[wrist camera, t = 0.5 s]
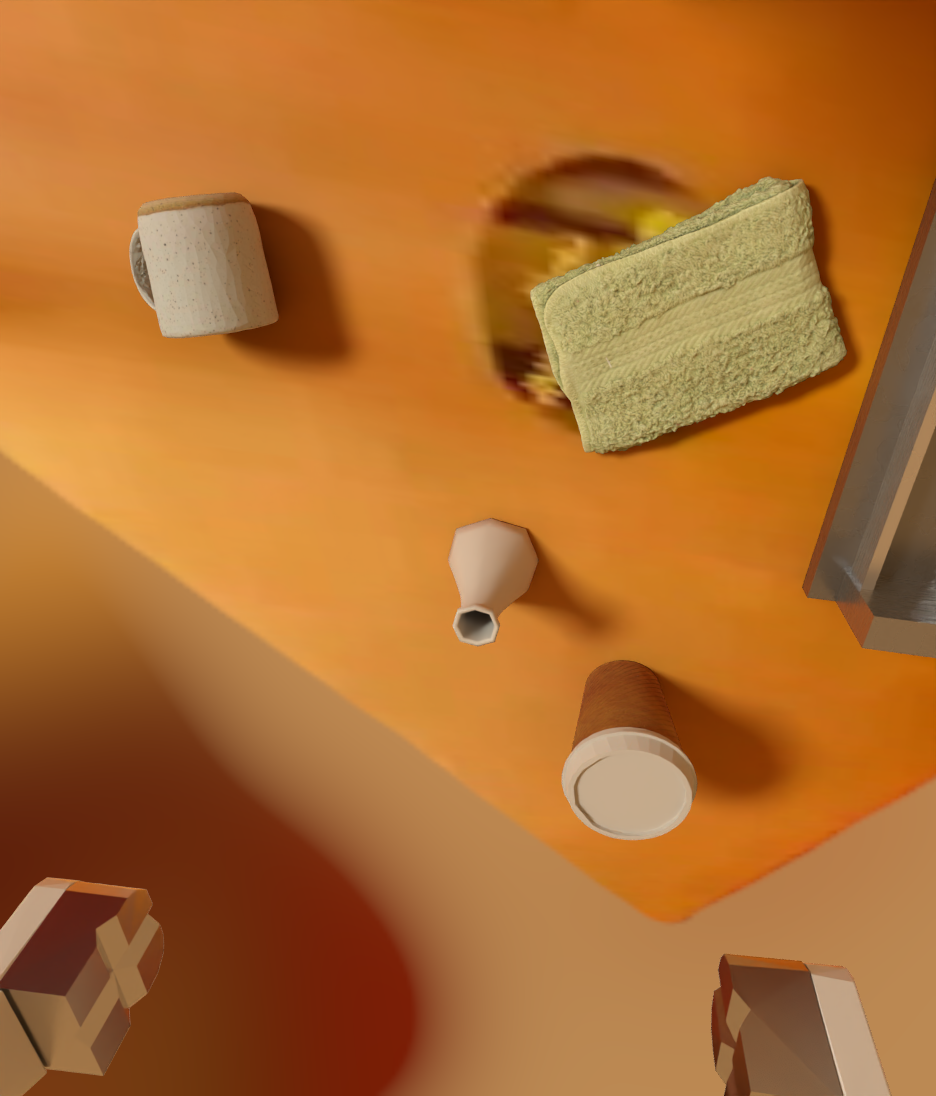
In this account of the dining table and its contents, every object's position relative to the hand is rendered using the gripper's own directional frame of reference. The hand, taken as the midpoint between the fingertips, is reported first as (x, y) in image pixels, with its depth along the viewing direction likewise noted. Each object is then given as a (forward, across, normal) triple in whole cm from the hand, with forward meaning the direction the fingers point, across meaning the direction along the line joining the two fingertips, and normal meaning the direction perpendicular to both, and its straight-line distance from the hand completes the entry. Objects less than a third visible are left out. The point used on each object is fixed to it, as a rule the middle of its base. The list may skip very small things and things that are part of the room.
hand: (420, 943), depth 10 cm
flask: (+45, +5, +18) cm, 49 cm away
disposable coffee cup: (+45, -6, +30) cm, 54 cm away
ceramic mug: (+45, +24, -4) cm, 51 cm away
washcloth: (+45, -8, 0) cm, 46 cm away
